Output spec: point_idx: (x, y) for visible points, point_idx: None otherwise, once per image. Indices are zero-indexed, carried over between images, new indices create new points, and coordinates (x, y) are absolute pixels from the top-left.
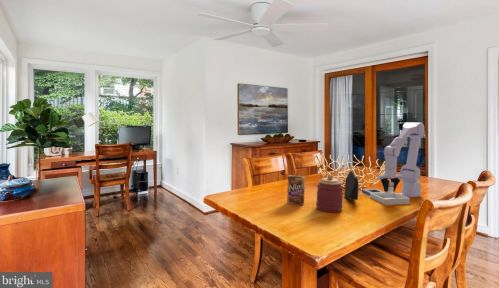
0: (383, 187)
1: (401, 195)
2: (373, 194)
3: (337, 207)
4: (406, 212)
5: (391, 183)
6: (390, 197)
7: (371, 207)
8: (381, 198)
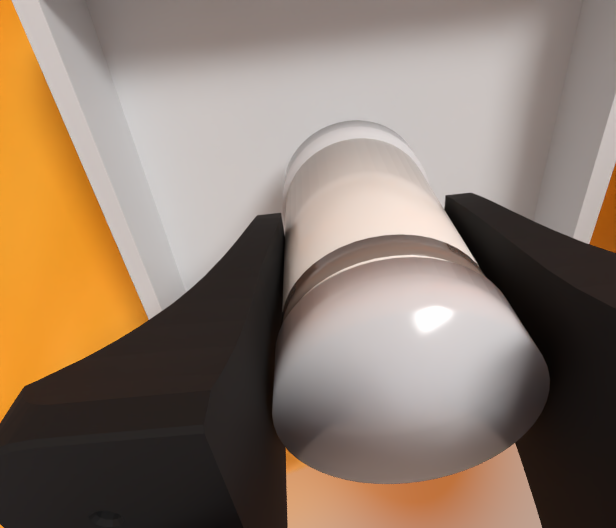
0: (228, 255)
1: (584, 199)
2: (62, 108)
3: None
4: (288, 461)
5: (374, 475)
6: (479, 9)
7: (14, 374)
8: (149, 313)
